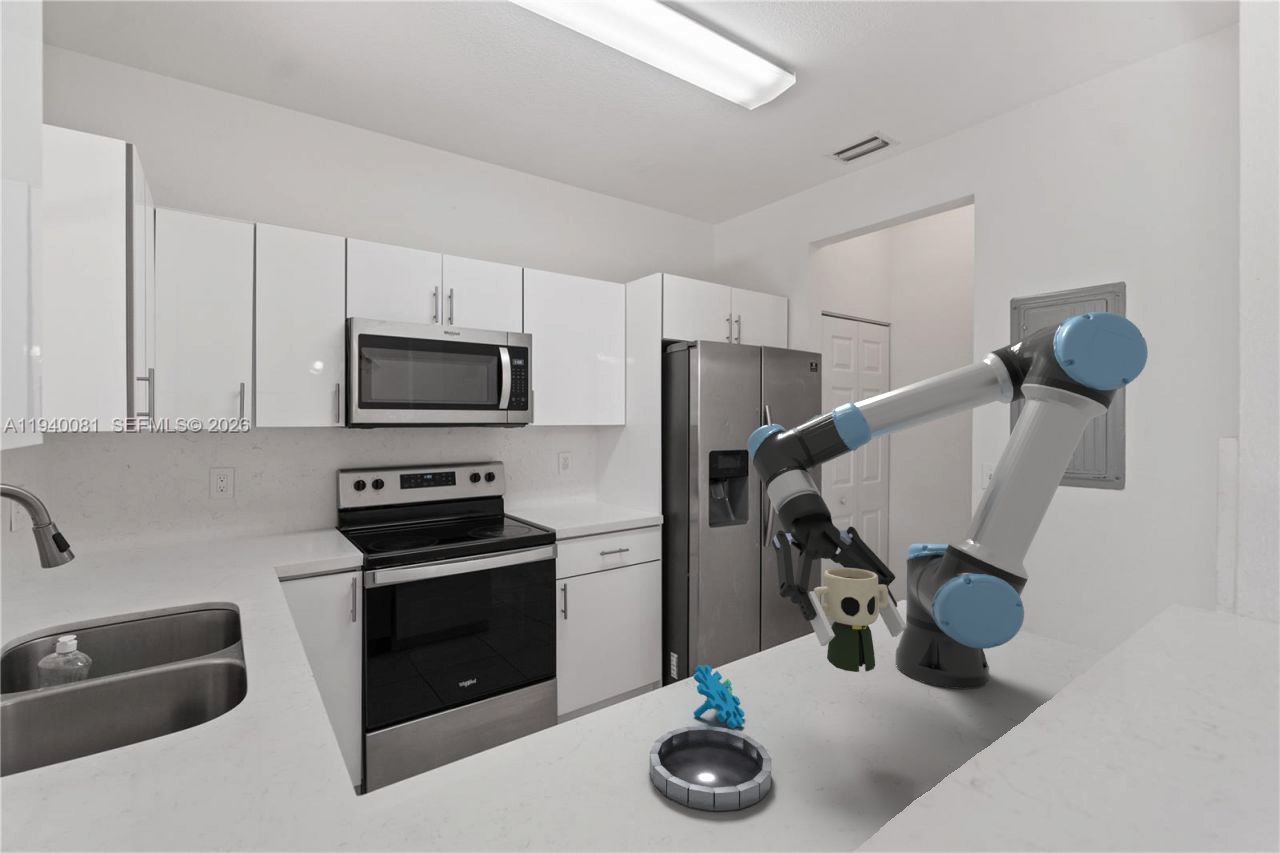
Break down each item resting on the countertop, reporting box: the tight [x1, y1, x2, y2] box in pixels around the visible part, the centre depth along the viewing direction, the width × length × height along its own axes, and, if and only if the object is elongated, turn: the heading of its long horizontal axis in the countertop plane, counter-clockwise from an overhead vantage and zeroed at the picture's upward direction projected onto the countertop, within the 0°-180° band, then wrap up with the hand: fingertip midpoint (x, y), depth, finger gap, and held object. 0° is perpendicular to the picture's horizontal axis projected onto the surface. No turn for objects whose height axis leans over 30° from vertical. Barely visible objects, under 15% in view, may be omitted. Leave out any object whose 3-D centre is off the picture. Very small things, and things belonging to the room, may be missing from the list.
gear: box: [692, 664, 745, 730], centre depth 89 cm, size 11×6×10 cm
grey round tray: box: [648, 725, 773, 813], centre depth 75 cm, size 15×15×2 cm
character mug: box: [813, 567, 888, 673], centre depth 82 cm, size 11×7×13 cm, turn 98°
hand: (864, 636), depth 79 cm, fingers closed on character mug, 11 cm apart
